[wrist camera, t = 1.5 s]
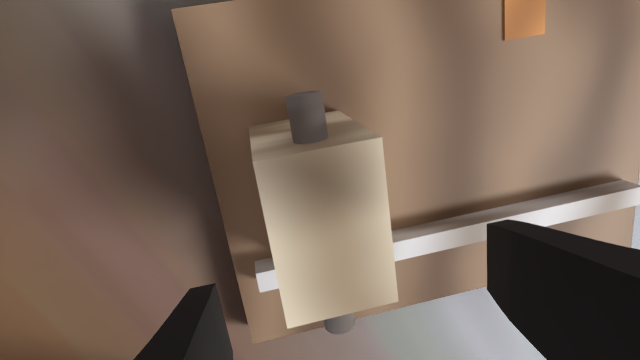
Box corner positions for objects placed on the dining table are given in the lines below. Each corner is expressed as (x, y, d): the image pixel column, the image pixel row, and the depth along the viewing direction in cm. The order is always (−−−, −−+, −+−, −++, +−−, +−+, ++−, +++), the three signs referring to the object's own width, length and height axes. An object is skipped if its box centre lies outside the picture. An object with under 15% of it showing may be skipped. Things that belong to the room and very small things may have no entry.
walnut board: (252, 325, 22) (253, 360, 20) (176, 12, 17) (165, 5, 15) (608, 239, 25) (650, 260, 23) (635, -53, 20) (692, -68, 18)
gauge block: (279, 276, 20) (294, 363, 15) (241, 91, 17) (242, 111, 12) (358, 258, 21) (401, 336, 15) (333, 76, 18) (377, 87, 12)
